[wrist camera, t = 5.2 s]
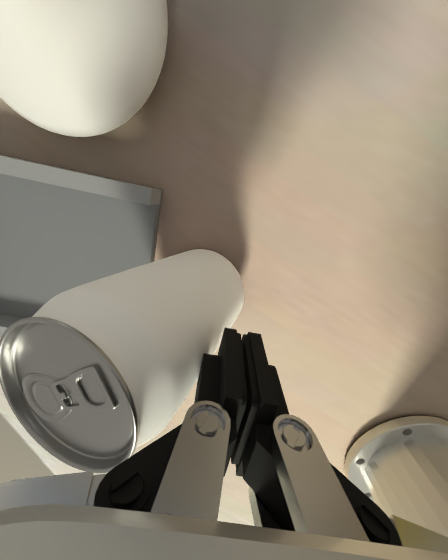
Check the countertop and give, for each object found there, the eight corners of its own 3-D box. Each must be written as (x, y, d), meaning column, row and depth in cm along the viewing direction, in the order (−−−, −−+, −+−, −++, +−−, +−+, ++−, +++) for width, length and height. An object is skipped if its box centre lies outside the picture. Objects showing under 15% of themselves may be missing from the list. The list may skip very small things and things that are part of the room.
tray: (162, 189, 17) (146, 188, 14) (144, 342, 21) (129, 369, 18) (-46, 144, 16) (-116, 131, 13) (-21, 312, 21) (-69, 335, 17)
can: (155, 264, 19) (-42, 332, 8) (226, 234, 17) (80, 273, 6) (187, 335, 20) (46, 483, 9) (258, 317, 18) (185, 487, 7)
